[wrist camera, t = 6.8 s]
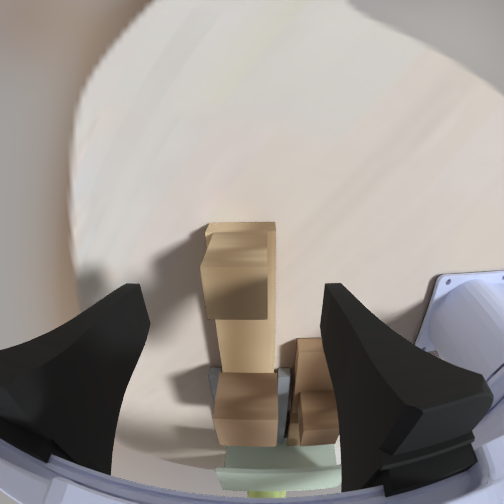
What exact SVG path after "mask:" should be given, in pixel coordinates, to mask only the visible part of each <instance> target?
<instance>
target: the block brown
mask: <svg viewBox="0 0 504 504" xmlns="http://www.w3.org/2000/svg"><path fill="white" fill-rule="evenodd" d="M291 407H292V413H298V422H299V436H300V447H301V446H315V445H327V444H335V442H336V440H337V438H338V436H339V422H338V413H337V405H336V399H335V394H334V390H333V386H332V382H331V378H330V374H329V370H328V366H327V362H326V358H325V354H324V350H323V345H322V338H307V339H297V349H296V360H295V370H294V380H293V389H292V398H291Z"/></svg>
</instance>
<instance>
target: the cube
mask: <svg viewBox="0 0 504 504" xmlns="http://www.w3.org/2000/svg"><path fill="white" fill-rule="evenodd" d="M213 422H214V426H215V430H216V433H217V437H218V440H219V444H220V445H226V446H252V447H276V443H277V430H278V387H277V373H234V372H220V373H219V379H218V386H217V392H216V399H215V405H214V412H213Z"/></svg>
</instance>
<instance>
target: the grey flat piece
mask: <svg viewBox="0 0 504 504" xmlns="http://www.w3.org/2000/svg"><path fill="white" fill-rule="evenodd" d="M220 372H222V368H216V367H210V370H209V375H208V377H209V381H210V386H211V390H212V395H213V399H214V404H215V399H216V392H217V386H218V379H219V373H220ZM290 377H291V376H290V368H278V382H277V387H278V430H277V443H276V444H283V443H284V434H285V426H286V417H287V408H288V398H289V388H290ZM298 445H300V436H299V422H298V413H292V411H290V415H289V423H288V430H287V446H298Z"/></svg>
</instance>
